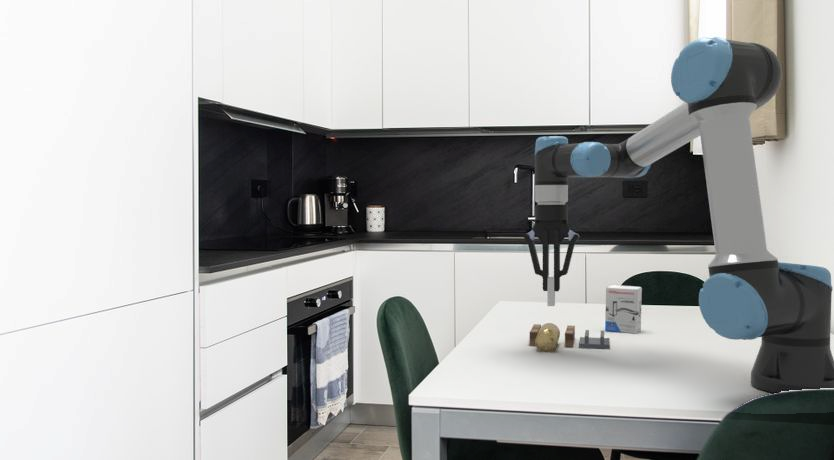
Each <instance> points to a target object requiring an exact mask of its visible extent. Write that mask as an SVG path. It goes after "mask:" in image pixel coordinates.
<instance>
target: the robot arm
mask: <svg viewBox="0 0 834 460" xmlns="http://www.w3.org/2000/svg"><path fill="white" fill-rule="evenodd" d="M782 80H783V68H782V63H781V61H780V59H779V57H778V56H777V55H776V54H775V52H774V51H773V50H772V49H770V48H769V47H767V46H765V45H763V44H760V43H756V42H755V43H754V42H745V41H739V40H738V41H737V40H732V39H726V38H723V37H717V36H716V37H700V38H697V39H695V40H693V41H690V42H689V43H688V44H686V45H685V47H683V48H682V50H681V51H680V52H679V54H678V57H677V58H675V60H674V62H673V65H672V68H671V76H670V84H671V88H672V91H673V93H674V95H676V96H677V97H679V99H680V100H681V101H682V102H684V103H682V104H681V105H679V106H678V107H677V106H676V108H673V110H671V111H670V112H668V113H666V114H664V115H662V116H661V117H660V118H658V119H657V120H655V121H654V122H652V123H651V124H649V125H648V126H646V127H645V128H642V129H641V130H640V131H638V132H636V133H635V134H633V135H632V136H630V137H628V138H627V139H625V140H624V141H622V142H620V143H601V142H599V141H596V142H595V141H584V142H579V143H578V142H577V143H569V139H568V138H567V137H566V136H562V135H560V136H558V135H554V136H553V135H552V136H551V135H549V136H539V137H537V138H536V140H535V146H534V147H535V149H534V155H533V156H534V182H535V183H534V202H536V203H537V204H536V205H535V206H534V224H533V227H532V229H531V230H530V231H529V232H527V233H525V234H523V239H524V240H525V241H526V244H527V246H528V249H529V253H530V259H531V262H532V267H533V271H534V274H535V275H537V276H540V277H541V278H542V291H543V292H547V299H546V301H547V303H546V304H547V307H555V305H556V292H559V291H560V289H561V287H560V286H561V277H563V276H566V275H568V273H569V268H570V264H571V260H572V256H573V253H574V250H575V246H576V245H575V244H576V243H577V241H578V240H579V238H580V235H579V233H576V232H574V231H572V230H571V227H570V224H569V206H568V205H567V204H566V203H568V201H569V181H568V179H569V178H621V179H622V178H623V179H635V178H640V177H643V176H645V175H646V174H647V173H648V171H649V169H650V168H651V167H652V166H651V165H652V164H653V163H655V162H656V161H659V160H660V159H662V158H663V157H665V156H667V155H669V154H671V153H672V152H674V151H677V150H678V149H679V148H682V147H683V146H684V145H686V144H688V143H690V142H691V141H693V140H695V139H697V138H698V137H700V142H701V151H702V159H703V160H702V161H703V167H704V174H705V181H706V183H705V184H706V189H707V198H708V204H709V214H710V220H711V228H712V235H713V243H714V251H715V255H714V258H712V260H711V262H710V263H709V264H708V266H707V268H708V276H709V278H707V279H706V280H705V281H704V282H703V284H702V288H700V290H699V292H698V306H699V310H700V313H701V316H702V318H703V320H704V321H705V324H707V325H708V327H709V328H710V329H712V330H713V331H714V332H715V334H717V335H719V336H721V337H722V338H726V339H728V340H737V341H738V340H741V341H742V340H746V341H747V340H749V341H751V340H756V339H758V338H761V341H760V342H761V344H760V347H759V350H758V353H757V355H756V358H755V361H754V363H753V367H752V369H751V373H750V385H751V386H752V387H754V388H756V389H759V390H762V391H765V392H770V393H773V394H776V393H775V392H781V391H789V390H802V389H820V388H834V356H833V353H832V349H831V325H832V324H831V323H832V322H831V321H832V292H833V285H832V275H831V272H830V270H829V269H827V268H826V267H823V266H817V265H810V264H801V263H800V264H799V263H789V262H781V261H780V262H779V260H778V257H776V256H774V255H773V254H772V253H771V252H770V251H769V250H768V248H767V241H766V233H765V226H764V225H765V224H764V219H763V211H762V210H763V209H762V204H761V196H760V188H759V181H758V174H757V167H756V157H755V151H754V144H753V137H752V130H751V121H750V119H751V116H752V115H753V113H754V112H755V111H757V110H758V109H759V108H762V107H763V106H764V105H766V104H767V103H768V102H769V101H771V100H772V99H773V97H774V96H775V95H776V94H777V93H778V90H779V89H780V87H781V85H782ZM567 235H568V238H567V239H568V241H569V243H568V245H567V248H566V254H565V258H564V262H563V265H562V268H561V243H562V242H563V241H564V239H566V237H567ZM535 236H536V237H537V238H538V240H539V241H540V242H541V244H542V269H541V264H540V260H539V257H538V253H537V248H536V245H535V242H534V240H535V239H536V237H535ZM550 244H553V276H549V275H550V251H549V250H550Z"/></svg>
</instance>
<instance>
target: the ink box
mask: <svg viewBox="0 0 834 460" xmlns="http://www.w3.org/2000/svg"><path fill="white" fill-rule="evenodd" d="M642 291H643V288H642V287H641V286H633V285H619V284H618V285H617V284H616V285H615V284H612V285H609V286H606V288H605V313H604V314H605V318H604V319H605V326H604V332H613V333H614V332H615V333H627V334H635V335H637V334H638V333H640V332H641V331H642V299H643V298H642V295H643V294H642V293H643V292H642Z"/></svg>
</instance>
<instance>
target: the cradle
mask: <svg viewBox="0 0 834 460" xmlns="http://www.w3.org/2000/svg"><path fill="white" fill-rule="evenodd" d="M610 341H611V340H610V337H605V330H600V336H599V337H590V330H589V329H585V333H584V336H583V337H582V336H580V337H579V341H578V348H579V349H597V350H599V349H600V350H610V348H611V347H610V345H611V343H610Z"/></svg>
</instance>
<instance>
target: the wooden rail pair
mask: <svg viewBox="0 0 834 460" xmlns="http://www.w3.org/2000/svg"><path fill="white" fill-rule="evenodd" d="M541 327H542V324H533V326H532V327H531V329H530V331H529V346H530V347H531V346H532V347H533V346H534V347H536V344H535V339H536V336H537V334H538V332H539V330H540V328H541ZM575 329H576V326H575V325H566V329H565V332H564V348H573V347H574V343H575V339H576V336H575V335H576V334H575V333H576V330H575Z"/></svg>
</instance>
